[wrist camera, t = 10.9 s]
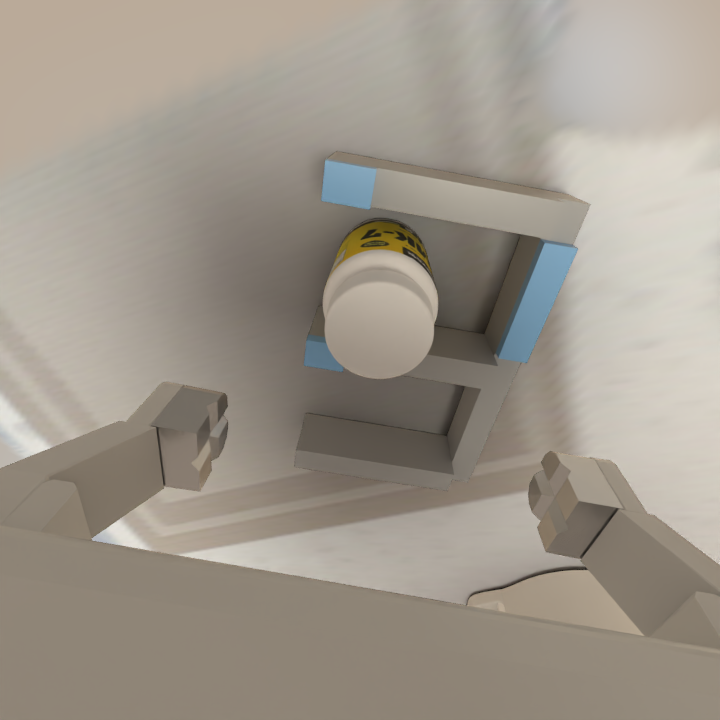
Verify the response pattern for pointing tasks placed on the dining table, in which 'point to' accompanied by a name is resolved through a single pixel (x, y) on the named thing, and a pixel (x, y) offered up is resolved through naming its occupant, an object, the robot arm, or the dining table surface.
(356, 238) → the supplement bottle
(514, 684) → the robot arm
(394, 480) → the blue-tipped e-shaped rack
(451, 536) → the dining table surface
